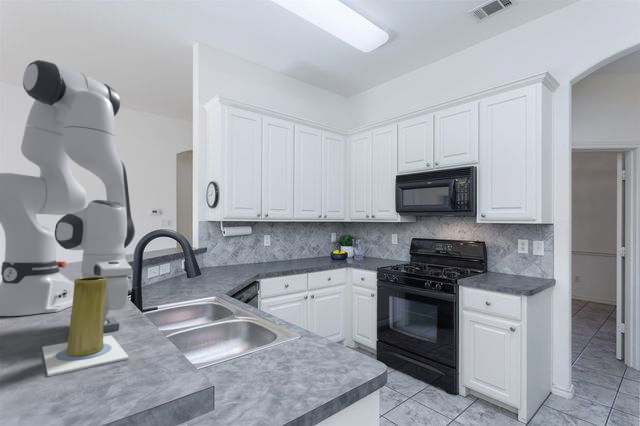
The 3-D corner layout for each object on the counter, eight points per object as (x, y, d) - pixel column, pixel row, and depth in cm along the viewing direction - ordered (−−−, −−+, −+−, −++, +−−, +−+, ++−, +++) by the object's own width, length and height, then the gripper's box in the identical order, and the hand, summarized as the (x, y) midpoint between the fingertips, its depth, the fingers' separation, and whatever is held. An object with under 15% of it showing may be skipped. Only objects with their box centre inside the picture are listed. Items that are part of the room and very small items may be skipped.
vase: (106, 344, 68) (111, 276, 69) (99, 354, 62) (105, 280, 63) (71, 347, 66) (77, 276, 66) (60, 358, 60) (67, 281, 61)
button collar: (79, 328, 79) (79, 321, 79) (112, 323, 84) (113, 317, 84) (83, 335, 74) (84, 328, 74) (118, 329, 79) (119, 323, 79)
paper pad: (42, 348, 65) (42, 346, 65) (111, 337, 74) (111, 334, 74) (47, 376, 54) (47, 373, 54) (128, 359, 62) (129, 356, 62)
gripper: (74, 262, 84) (70, 316, 83) (104, 270, 71) (100, 334, 70) (102, 261, 89) (98, 312, 88) (135, 268, 76) (131, 327, 75)
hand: (99, 321), depth 79 cm, fingers closed, pressing on done button
